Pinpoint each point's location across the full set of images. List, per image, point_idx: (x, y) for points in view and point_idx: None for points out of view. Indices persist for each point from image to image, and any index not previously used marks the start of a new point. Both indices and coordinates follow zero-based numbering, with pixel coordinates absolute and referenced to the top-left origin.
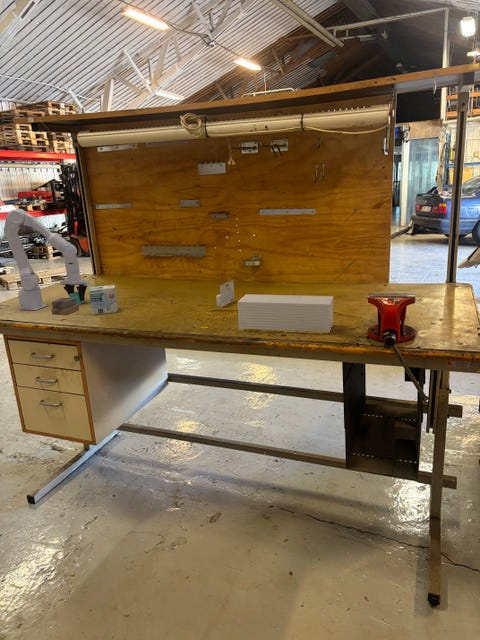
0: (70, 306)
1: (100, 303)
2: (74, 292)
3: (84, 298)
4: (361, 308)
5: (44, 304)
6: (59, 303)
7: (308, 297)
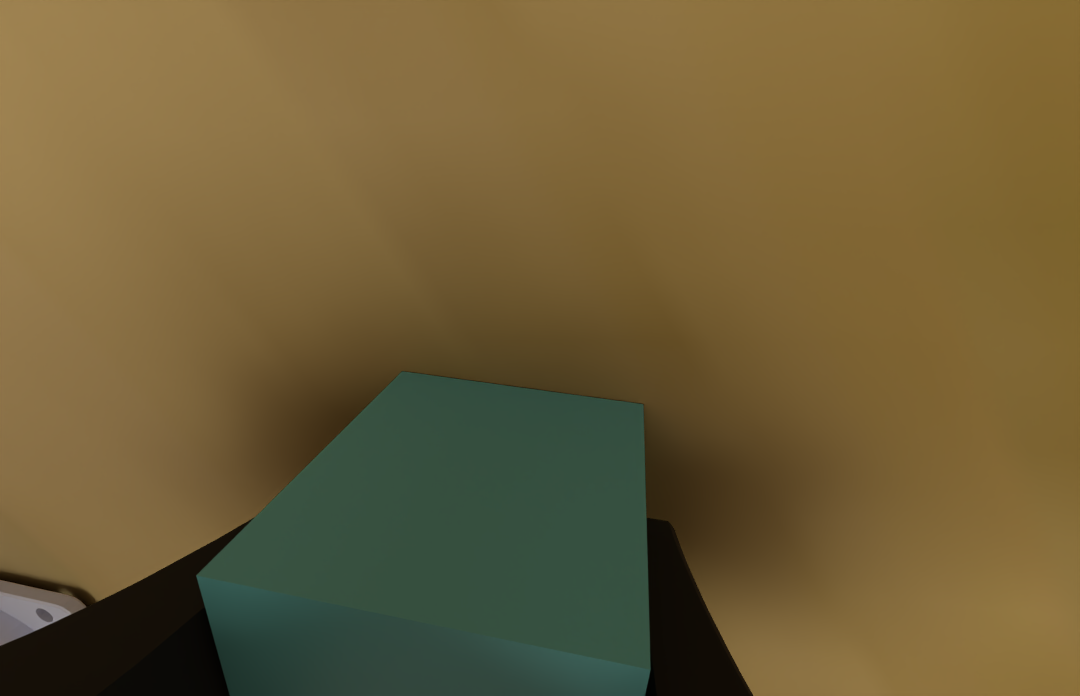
0: None
1: None
2: (278, 693)
3: (643, 478)
4: None
5: (9, 598)
6: None
7: None
